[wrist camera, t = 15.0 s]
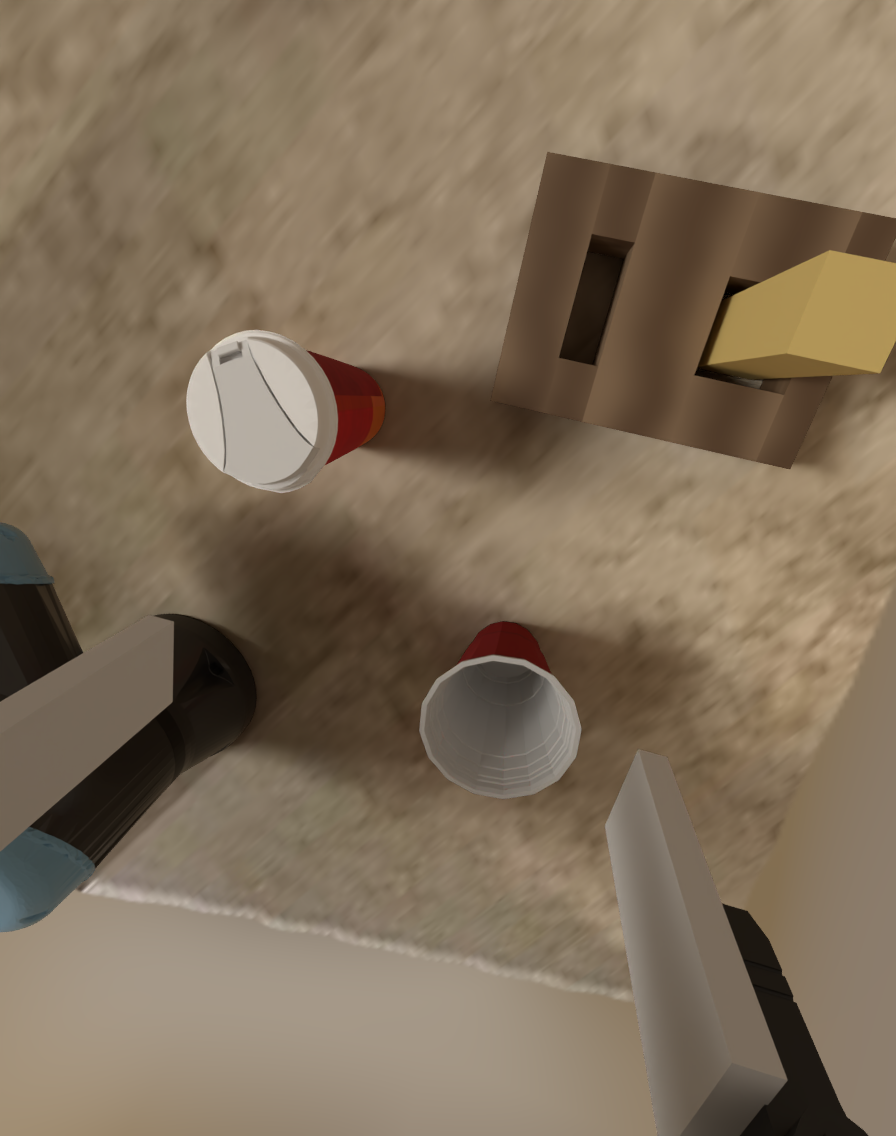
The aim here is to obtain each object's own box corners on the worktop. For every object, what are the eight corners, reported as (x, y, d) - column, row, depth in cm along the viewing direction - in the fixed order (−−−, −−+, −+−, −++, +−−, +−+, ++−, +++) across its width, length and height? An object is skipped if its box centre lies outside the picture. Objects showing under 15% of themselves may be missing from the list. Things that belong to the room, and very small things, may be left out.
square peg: (691, 366, 35) (786, 353, 22) (714, 304, 34) (829, 250, 21) (749, 379, 35) (880, 373, 22) (774, 316, 34) (930, 269, 21)
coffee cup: (285, 367, 40) (150, 354, 26) (382, 336, 38) (294, 303, 24) (320, 472, 42) (214, 513, 28) (413, 447, 40) (350, 477, 26)
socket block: (494, 399, 38) (490, 400, 34) (545, 178, 33) (547, 151, 29) (763, 461, 37) (790, 469, 33) (859, 240, 32) (903, 219, 28)
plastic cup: (588, 615, 42) (609, 695, 31) (543, 716, 46) (547, 820, 35) (466, 574, 43) (443, 638, 32) (431, 677, 47) (400, 767, 36)
